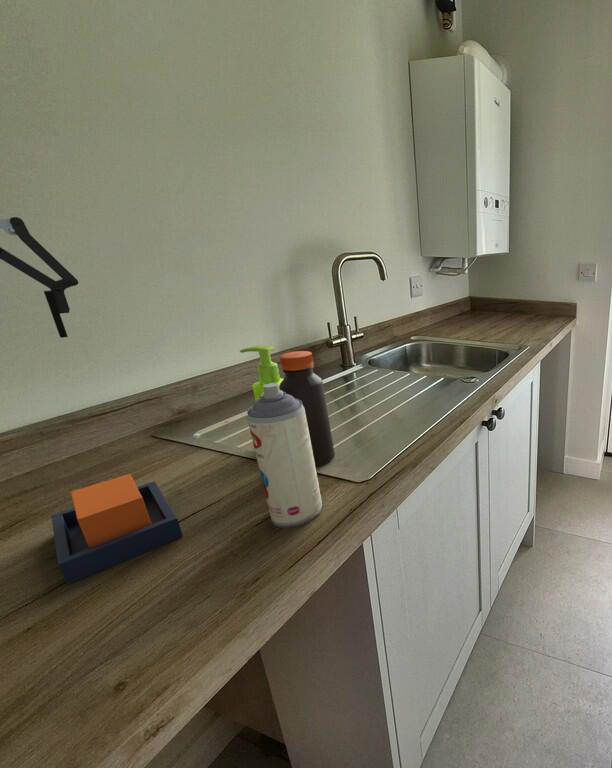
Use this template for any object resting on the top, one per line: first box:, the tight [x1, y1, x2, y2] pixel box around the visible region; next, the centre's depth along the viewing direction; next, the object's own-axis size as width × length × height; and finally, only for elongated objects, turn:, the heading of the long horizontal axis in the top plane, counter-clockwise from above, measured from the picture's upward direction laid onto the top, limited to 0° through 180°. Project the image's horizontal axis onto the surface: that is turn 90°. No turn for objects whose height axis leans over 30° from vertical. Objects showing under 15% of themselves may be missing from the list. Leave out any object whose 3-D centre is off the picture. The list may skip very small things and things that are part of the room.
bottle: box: [279, 350, 335, 467], centre depth 72 cm, size 7×7×20 cm
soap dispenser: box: [239, 345, 285, 402], centre depth 77 cm, size 6×7×20 cm
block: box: [70, 473, 151, 548], centre depth 55 cm, size 9×6×6 cm, turn 49°
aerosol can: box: [246, 383, 324, 529], centre depth 57 cm, size 7×7×20 cm
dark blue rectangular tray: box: [50, 480, 184, 586], centre depth 55 cm, size 14×11×3 cm
